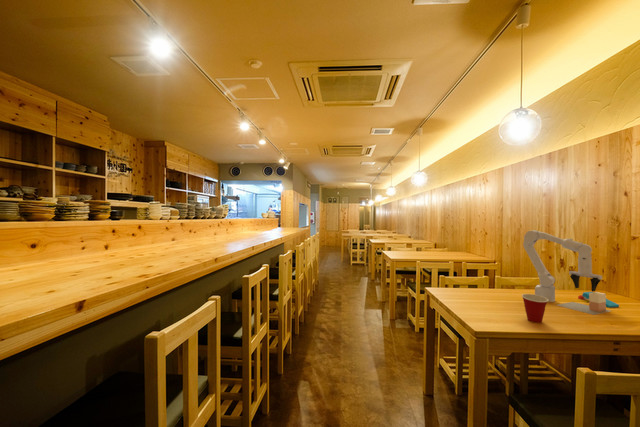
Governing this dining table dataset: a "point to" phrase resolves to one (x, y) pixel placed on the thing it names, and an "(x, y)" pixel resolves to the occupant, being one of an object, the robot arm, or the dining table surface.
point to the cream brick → (597, 297)
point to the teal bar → (608, 302)
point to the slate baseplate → (581, 308)
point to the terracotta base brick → (597, 306)
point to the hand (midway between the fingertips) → (585, 289)
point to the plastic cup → (534, 307)
